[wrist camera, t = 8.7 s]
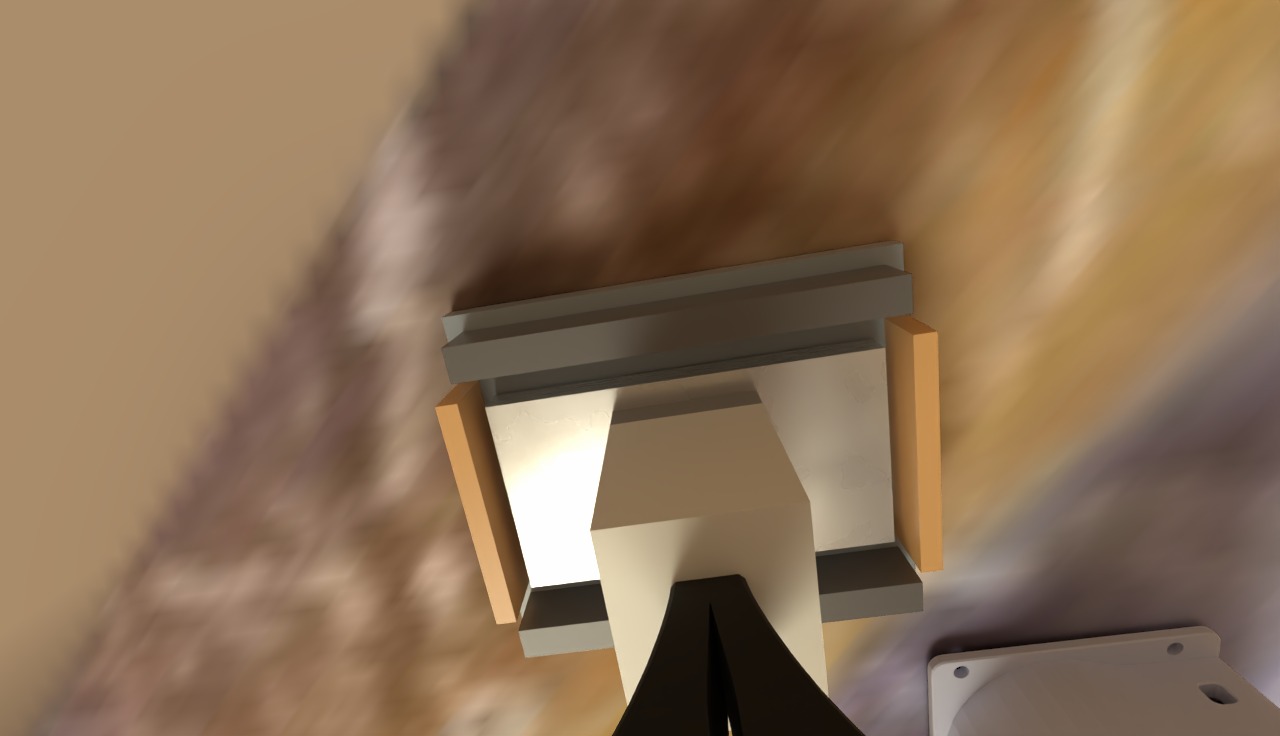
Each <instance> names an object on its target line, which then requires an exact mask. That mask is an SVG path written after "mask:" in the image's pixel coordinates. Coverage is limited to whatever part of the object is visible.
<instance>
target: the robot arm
mask: <svg viewBox="0 0 1280 736" xmlns="http://www.w3.org/2000/svg"><path fill="white" fill-rule="evenodd" d="M1220 647H1221V638H1220V637H1219V636H1218V634H1216V633H1215V632H1214V631H1213V630H1211V629H1210V628H1208V627H1206V626H1194V627H1185V628H1176V629H1167V630H1158V631H1149V632H1140V633H1131V634H1122V635H1113V636H1104V637H1095V638H1086V639H1077V640H1068V641H1060V642H1051V643H1042V644H1033V645H1024V646H1015V647H1006V648H997V649H988V650H979V651H970V652H961V653H952V654H943V655H938V656H935V657H934V658H932V659H931V661H930V662H929V663H928V668H927V669H928V700H929V730H930V736H1280V709H1279V708H1278V707H1277V706H1276V705H1275V704H1273V703H1272V702H1271V701H1270V700H1269V699H1267V698H1266V697H1265V696H1264V695H1263V694H1262V693H1260V692H1259V691H1258V690H1257V689H1256V688H1254V687H1253V686H1252V685H1251V684H1250V683H1249V682H1247V681H1246V680H1245V679H1244V678H1243V677H1241V676H1240V675H1239V674H1238V673H1237V672H1235V671H1234V670H1233V669H1232V668H1231V667H1230V666H1228V665H1227V664H1226V663H1225V662H1224V661H1222V660H1221V659H1220V658H1219V654H1220ZM960 666H962V667H961V668H959V669H956V668H957V667H960ZM955 669H956V670H955ZM728 718H729V723H730V727H731V731H732V736H865V735H864V734H863V733H862V732H861V731H860V730H859V729H858V728H857V727H856V726H855V725H854V724H853V723H852V722H851V721H850V720H849V719H848V718H847V717H846V716H845V715H844V713H843V712H842V711H841V710H840V709H839V708H838V707H837V706H836V705H835V704H834V703H833V702H832V701H831V700H830V699H829V697H828V696H827V695H826V694H825V693H824V692H823V691H822V690H821V688H820V687H819V686H818V685H817V684H816V683H815V681H814V680H813V679H812V678H811V677H810V675H809V674H808V673H807V672H806V671H805V669H804V668H803V667H802V666H801V664H800V663H799V662H798V661H797V659H796V658H795V657H794V655H793V654H792V653H791V652H790V650H789V649H788V647H787V646H786V645H785V643H784V642H783V641H782V639H781V638H780V636H779V635H778V634H777V632H776V631H775V630H774V628H773V627H772V625H771V624H770V622H769V621H768V619H767V618H766V616H765V614H764V613H763V611H762V609H761V608H760V606H759V605H758V603H757V601H756V599H755V598H754V596H753V594H752V592H751V590H750V588H749V586H748V584H747V581H746V579H745V578H744V577H743V576H741V575H740V574H734V575H726V576H719V577H711V578H703V579H695V580H687V581H679V582H675V583H674V584H673V586H672V587H671V589H670V595H669V600H668V604H667V608H666V612H665V615H664V618H663V621H662V625H661V628H660V631H659V634H658V636H657V639H656V642H655V644H654V647H653V650H652V652H651V655H650V658H649V660H648V663H647V665H646V667H645V670H644V672H643V674H642V676H641V679H640V681H639V683H638V685H637V687H636V690H635V692H634V694H633V696H632V698H631V700H630V703H629V705H628V707H627V709H626V710H625V712H624V714H623V716H622V718H621V720H620V722H619V724H618V726H617V728H616V729H615V731H614V733H613V735H612V736H729V727H728Z"/></svg>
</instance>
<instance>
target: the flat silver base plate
mask: <svg viewBox="0 0 1280 736" xmlns="http://www.w3.org/2000/svg"><path fill="white" fill-rule="evenodd" d="M755 390H757V392H758V394H759V397H760V399H761V401H762V403H763V405H764V407H765V409H766V411H767V413H768V415H769V417H770V419H771V421H772V424H773V426H774V428H775V430H776V432H777V434H778V436H779V438H780V440H781V442H782V444H783V446H784V448H785V450H786V453H787V455H788V457H789V459H790V461H791V463H792V465H793V467H794V469H795V471H796V473H797V475H798V477H799V480H800V482H801V484H802V486H803V488H804V490H805V492H806V494H807V496H808V498H809V500H810V504H811V515H812V525H813V536H814V547H815V552H817V551H825V550H833V549H841V548H849V547H857V546H865V545H873V544H881V543H889V542H895V538H894V518H893V497H892V477H891V456H890V435H889V415H888V394H887V374H886V353H885V347H884V346H882V345H881V344H879V343H878V342H877V341H875V340H874V339H872V338H871V339H865V340H858V341H852V342H845V343H838V344H832V345H825V346H818V347H812V348H805V349H799V350H792V351H785V352H779V353H772V354H765V355H759V356H752V357H746V358H739V359H732V360H726V361H719V362H712V363H706V364H699V365H693V366H686V367H679V368H673V369H666V370H659V371H653V372H646V373H640V374H633V375H626V376H620V377H613V378H606V379H600V380H593V381H587V382H580V383H573V384H567V385H560V386H553V387H547V388H540V389H534V390H527V391H520V392H514V393H507V394H500V395H494V397H493V398H492V399H491V400H490V402H489V403H488V404H487V406H486V407H485V409H486V413H487V417H488V421H489V425H490V428H491V432H492V436H493V440H494V444H495V448H496V452H497V455H498V459H499V463H500V467H501V471H502V475H503V479H504V483H505V486H506V490H507V494H508V498H509V502H510V506H511V510H512V514H513V517H514V521H515V525H516V529H517V533H518V537H519V541H520V544H521V548H522V552H523V556H524V560H525V564H526V568H527V572H528V575H529V579H530V583H531V587H540V586H548V585H556V584H564V583H571V582H579V581H587V580H595V579H600V577H599V572H598V568H597V563H596V558H595V554H594V549H593V545H592V540H591V535H590V526H591V521H592V516H593V511H594V505H595V500H596V495H597V490H598V485H599V479H600V474H601V469H602V464H603V459H604V454H605V448H606V443H607V438H608V433H609V428H610V422H611V417H612V412H613V411H618V410H625V409H632V408H638V407H645V406H652V405H659V404H666V403H673V402H680V401H686V400H693V399H700V398H707V397H714V396H721V395H728V394H734V393H741V392H748V391H755Z"/></svg>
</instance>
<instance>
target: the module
mask: <svg viewBox="0 0 1280 736" xmlns="http://www.w3.org/2000/svg"><path fill="white" fill-rule="evenodd" d="M590 535H591V540H592V545H593V549H594V554H595V558H596V563H597V568H598V572H599V577H600V581H601V586H602V591H603V595H604V600H605V604H606V609H607V614H608V618H609V623H610V627H611V632H612V637H613V641H614V646H615V650H616V655H617V660H618V664H619V669H620V673H621V678H622V683H623V687H624V692H625V696H626V701H627V706H628V705H629V703H630V700H631V698H632V696H633V694H634V692H635V690H636V687H637V685H638V683H639V681H640V679H641V676H642V674H643V672H644V670H645V667H646V665H647V663H648V660H649V658H650V655H651V652H652V650H653V647H654V644H655V642H656V639H657V636H658V634H659V631H660V628H661V625H662V621H663V618H664V615H665V612H666V608H667V604H668V600H669V595H670V589H671V587H672V586H673V584H674V583H675V582H679V581H687V580H695V579H703V578H711V577H719V576H726V575H734V574H740V575H741V576H743V577H744V578H745V579H746V581H747V584H748V586H749V588H750V590H751V592H752V594H753V596H754V598H755V599H756V601H757V603H758V605H759V606H760V608H761V609H762V611H763V613H764V614H765V616H766V618H767V619H768V621H769V622H770V624H771V625H772V627H773V628H774V630H775V631H776V632H777V634H778V635H779V636H780V638H781V639H782V641H783V642H784V643H785V645H786V646H787V647H788V649H789V650H790V652H791V653H792V654H793V655H794V657H795V658H796V659H797V661H798V662H799V663H800V664H801V666H802V667H803V668H804V669H805V671H806V672H807V673H808V674H809V675H810V677H811V678H812V679H813V680H814V681H815V683H816V684H817V685H818V686H819V687H820V688H821V690H822V691H823V692H824V693H825V694H826V695H827V696H828V687H827V676H826V665H825V654H824V644H823V633H822V622H821V611H820V601H819V590H818V579H817V568H816V558H815V547H814V536H813V525H812V515H811V504H810V500H809V498H808V496H807V494H806V492H805V490H804V488H803V486H802V484H801V482H800V480H799V477H798V475H797V473H796V471H795V469H794V467H793V465H792V463H791V461H790V459H789V457H788V455H787V453H786V450H785V448H784V446H783V444H782V442H781V440H780V438H779V436H778V434H777V432H776V430H775V428H774V426H773V424H772V421H771V419H770V417H769V415H768V413H767V411H766V409H765V407H764V405H763V403H762V401H761V399H760V397H759V394H758V392H757V390H755V391H748V392H741V393H734V394H728V395H721V396H714V397H707V398H700V399H693V400H686V401H680V402H673V403H666V404H659V405H652V406H645V407H638V408H632V409H625V410H618V411H613V412H612V417H611V422H610V428H609V433H608V438H607V443H606V448H605V454H604V459H603V464H602V469H601V474H600V479H599V485H598V490H597V495H596V500H595V505H594V511H593V516H592V521H591V526H590ZM728 727H729V731H731V727H730V723H729V718H728Z"/></svg>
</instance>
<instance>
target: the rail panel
mask: <svg viewBox="0 0 1280 736" xmlns="http://www.w3.org/2000/svg"><path fill="white" fill-rule="evenodd" d="M907 314H913V288H912V274H911V273H908V272H905V271H904V255H903V243H901V242H897V241H893V240H891V241H885V242H878V243H872V244H866V245H860V246H854V247H848V248H841V249H835V250H829V251H823V252H817V253H811V254H805V255H798V256H792V257H786V258H780V259H774V260H768V261H761V262H755V263H749V264H743V265H737V266H731V267H724V268H718V269H712V270H706V271H700V272H694V273H688V274H681V275H675V276H669V277H663V278H657V279H651V280H644V281H638V282H632V283H626V284H620V285H614V286H607V287H601V288H595V289H589V290H583V291H577V292H570V293H564V294H558V295H552V296H546V297H540V298H534V299H527V300H521V301H515V302H509V303H503V304H497V305H490V306H484V307H478V308H472V309H466V310H460V311H453V312H450V313H448V314H447V315H445V316H443V317H442V322H443V325H444V329H445V333H446V337H447V340H448V343H447V344H446V345H445V346H443V347H442V348H441V349H442V353H443V357H444V360H445V364H446V368H447V371H448V375H449V379H450V382H451V384H456V383H459V384H458V385H457V386H456V387H455V388H454V389H453V390H452V391H451V392H450V393H449V394H448V395H447V396H446V397H445V398H444V399H443V400H442V401H441V402H440V403H439V404H438V405H437V406H436V407H435V408H436V412H437V415H438V419H439V423H440V426H441V430H442V433H443V437H444V440H445V444H446V447H447V451H448V454H449V458H450V461H451V465H452V468H453V472H454V475H455V479H456V482H457V486H458V489H459V493H460V496H461V500H462V503H463V507H464V510H465V514H466V517H467V521H468V524H469V528H470V531H471V535H472V539H473V542H474V546H475V549H476V553H477V556H478V560H479V563H480V567H481V570H482V574H483V577H484V581H485V584H486V588H487V591H488V595H489V598H490V602H491V605H492V609H493V612H494V616H495V619H496V623H497V624H503V623H512V622H517V619H518V615H519V612H521V616H522V621H521V624H520V628H519V631H518V632H519V635H520V639H521V643H522V646H523V650H524V654H525V657H526V658H528V657H536V656H545V655H553V654H562V653H570V652H579V651H587V650H596V649H604V648H613V647H615V646H614V641H613V637H612V632H611V627H610V623H609V618H608V614H607V609H606V604H605V600H604V595H603V591H602V586H601V581H600V579H595V580H587V581H579V582H571V583H564V584H556V585H548V586H540V587H531V583H530V579H529V575H528V572H527V568H526V564H525V560H524V556H523V552H522V548H521V544H520V541H519V537H518V533H517V529H516V525H515V521H514V517H513V514H512V510H511V506H510V502H509V498H508V494H507V490H506V486H505V483H504V479H503V475H502V471H501V467H500V463H499V459H498V455H497V452H496V448H495V444H494V440H493V436H492V432H491V428H490V425H489V421H488V417H487V413H486V409H485V407H486V406H487V404H488V403H489V402H490V400H491V399H492V398H493V397H494V395H500V394H507V393H514V392H520V391H527V390H534V389H540V388H547V387H553V386H560V385H567V384H573V383H580V382H587V381H593V380H600V379H606V378H613V377H620V376H626V375H633V374H640V373H646V372H653V371H659V370H666V369H673V368H679V367H686V366H693V365H699V364H706V363H712V362H719V361H726V360H732V359H739V358H746V357H752V356H759V355H765V354H772V353H779V352H785V351H792V350H799V349H805V348H812V347H818V346H825V345H832V344H838V343H845V342H852V341H858V340H865V339H871V338H872V339H874V340H875V341H877V342H878V343H879V344H881V345H882V346H884V347H885V353H886V374H887V394H888V415H889V435H890V456H891V477H892V497H893V518H894V538H895V542H889V543H881V544H873V545H865V546H857V547H849V548H841V549H833V550H825V551H817V552H815V558H816V568H817V579H818V590H819V601H820V611H821V622H822V623H826V622H835V621H843V620H852V619H860V618H869V617H877V616H886V615H894V614H903V613H911V612H920V611H923V585H922V581H921V580H920V578H919V577H918V575H917V574H916V572H915V564H916V565H917V567H918V568H919V570H920V571H921V573H922V572H930V571H938V570H943V546H942V500H941V454H940V408H939V362H938V331H936V330H934V329H932V328H930V327H928V326H926V325H925V324H923V323H921V322H919V321H917V320H915V319H913V318H911V317H909V316H907Z"/></svg>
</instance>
